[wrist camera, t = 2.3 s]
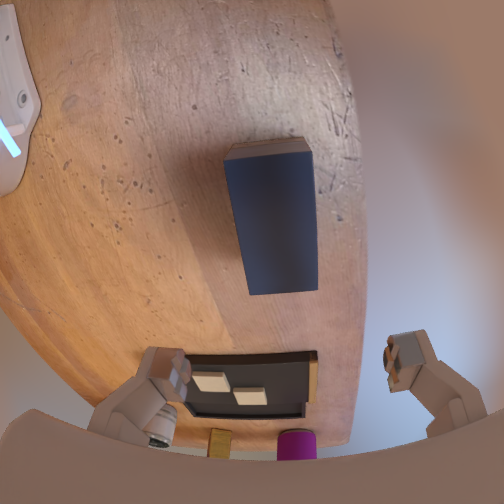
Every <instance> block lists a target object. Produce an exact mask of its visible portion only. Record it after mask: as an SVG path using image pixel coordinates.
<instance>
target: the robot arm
mask: <svg viewBox="0 0 504 504" xmlns="http://www.w3.org/2000/svg"><path fill="white" fill-rule="evenodd" d="M40 108H41V103H40V98H39V96H38V93H37V90H36V87H35V84H34V81H33V78H32V75H31V72H30V69H29V65H28V62H27V58H26V55H25V51H24V47H23V44H22V40H21V35H20V31H19V27H18V22H17V17H16V12H15V7H14V4H12V3H11V4H4V5H1V6H0V197H1V196H5V195H8V194H10V193H11V192H13V191H14V190H15V188H16V187H17V186H18V184H19V182H20V180H21V178H22V176H23V173H24V170H25V166H26V161H27V155H28V145H29V138H30V134H31V131H32V129H33V127H34V125H35V123H36V120H37V118H38V115H39V112H40ZM387 344H388V346H387V347H386V348H385V350H384V354H383V362H384V367H385V371H386V372H388V373H389V376H388V379H387V380H388V384H389V388H390V392H391V393H393V392H399V391H404V390H410V392H411V393H412V394H413V395H414V396H415V397H416V398H417V399H418V400H419V401H420V402H421V403H422V404H423V406H425V408H426V409H427V410H428V411H429V412H430V413H431V414H432V415H433V416H434V417H435V419H434V420H433V421H432V422H431V423H430V424H429V425H428V427H427V428H426V432H427V437H428V438H426V439H423V440H420V441H416V442H412V443H409V444H405V445H401V446H396V447H392V448H387V449H383V450H378V451H372V452H367V453H361V454H355V455H348V456H340V457H332V458H322V459H308V460H286V461H254V460H234V459H221V458H210V457H202V456H194V455H186V454H180V453H174V452H169V451H163V450H158V449H153V448H149V447H148V445H149V441H150V438H149V436H148V435H147V434H145V433H144V432H143V431H142V429H143V427H144V426H145V425H146V424H147V423H148V422H149V421H150V420H151V419H152V418H153V417H154V416H155V414H156V413H157V412H158V411H159V410H160V409H161V408H162V407H163V406H164V405H165V403H166V402H167V401H173V402H185V399H186V396H187V392H188V388H187V386H186V384H187V383H188V382H189V381H190V380H191V375H192V367H191V363H190V361H189V360H188V359H187V358H185V352H184V350H183V349H180V348H164V347H150V346H149V347H148V348H147V349H146V351H145V353H144V356H143V358H142V361H141V363H140V366H139V368H138V371H137V373H136V376H135V377H131V378H130V379H129V380H127V381H126V382H125V383H124V384H123V385H121V386H120V387H119V388H118V389H116V390H115V391H114V392H113V393H112V394H110V395H109V396H108V397H107V398H105V399H104V400H103V401H102V402H100V403H99V404H98V405H97V406H96V408H95V410H94V413H93V415H92V418H91V420H90V423H89V425H88V428H87V430H85V429H82V428H80V427H77V426H74V425H72V424H69V423H66V422H64V421H61V420H59V419H56V418H54V417H52V416H50V415H47V414H45V413H43V412H41V411H39V410H36V409H30V410H28V411H26V412H25V413H23V414H22V415H21V416H19V417H18V418H16V419H15V420H13V421H12V422H11V423H10V424H9V426H8V427H7V428H6V430H5V432H4V434H3V436H2V438H1V440H0V504H504V408H503V409H501V410H499V411H497V412H495V413H493V414H490V415H487V412H486V409H485V406H484V403H483V400H482V397H481V395H480V392H479V390H478V389H477V388H476V387H475V386H473V385H472V384H471V383H470V382H468V381H467V380H466V379H465V378H463V377H462V376H461V375H459V374H458V373H457V372H455V371H454V370H453V369H452V368H450V367H449V366H448V365H446V364H445V363H444V362H442V361H441V360H440V361H438V360H437V358H436V355H435V352H434V350H433V348H432V345H431V343H430V340H429V338H428V336H427V333H426V331H425V330H418V331H413V332H406V333H401V334H395V335H390V336H389V337H388V340H387Z"/></svg>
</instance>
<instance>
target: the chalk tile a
mask: <svg viewBox="0 0 504 504" xmlns="http://www.w3.org/2000/svg"><path fill="white" fill-rule="evenodd" d="M192 377H193V379H194V380H195V382H196V384H197V385H198V387H199V389H200V390H201V391H209V392H230V385H229V383H228V381H227V378H226V376H225V374H224V372H202V371H193V374H192Z"/></svg>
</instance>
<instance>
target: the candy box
mask: <svg viewBox="0 0 504 504" xmlns="http://www.w3.org/2000/svg"><path fill="white" fill-rule="evenodd" d="M231 433H232V431H228V430H221V429H215V428H213V429H212V431H211V434H210V437H209V441H208V450H207V457H210V458H221V459H229V456H230V445H231Z"/></svg>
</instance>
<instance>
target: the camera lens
mask: <svg viewBox="0 0 504 504" xmlns="http://www.w3.org/2000/svg"><path fill="white" fill-rule="evenodd" d="M176 422H177V411H176V410H175V409H174V408H173V407H172V406H170V405H167V404H165V405H164V406H163V407H162V408H161V409H160V410H159V411H158V412H157V413H156V414H155V416H154V417H153V418H152V419H151V420H150V421H149V422H148V423H147V424H146V425H145V426H144V427H143V429H142V431H143V432H144V433H145V434H147V435H148V436H149V438H150V441H149V445H151V446H156V447H160V448H161V447H162V448H166V447H169V446H171V444H172V440H173V435H174V431H175V426H176Z"/></svg>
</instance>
